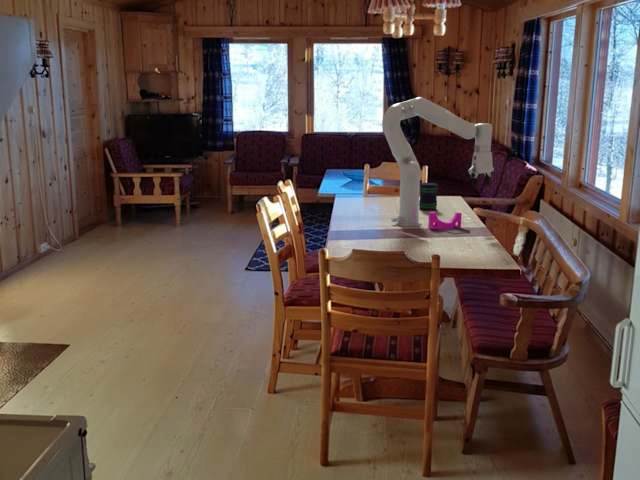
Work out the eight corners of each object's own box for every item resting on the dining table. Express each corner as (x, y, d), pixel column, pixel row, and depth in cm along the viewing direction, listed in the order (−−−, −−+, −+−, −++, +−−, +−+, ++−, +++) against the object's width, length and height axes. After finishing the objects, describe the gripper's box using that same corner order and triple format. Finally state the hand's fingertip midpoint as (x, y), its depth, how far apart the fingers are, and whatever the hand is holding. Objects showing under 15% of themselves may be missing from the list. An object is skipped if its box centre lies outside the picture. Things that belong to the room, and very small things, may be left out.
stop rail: (468, 232, 301) (468, 230, 300) (439, 225, 317) (439, 223, 317) (470, 232, 301) (470, 229, 301) (440, 225, 318) (440, 223, 317)
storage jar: (423, 212, 355) (424, 185, 352) (416, 209, 364) (417, 182, 361) (439, 211, 358) (441, 184, 354) (432, 208, 367) (433, 182, 364)
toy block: (430, 229, 306) (431, 213, 305) (428, 227, 312) (428, 212, 311) (462, 229, 306) (462, 213, 305) (459, 227, 312) (459, 212, 311)
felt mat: (455, 234, 297) (455, 233, 297) (429, 227, 312) (429, 226, 312) (466, 232, 301) (466, 231, 301) (439, 226, 316) (439, 225, 316)
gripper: (475, 150, 302) (473, 187, 306) (501, 149, 311) (498, 185, 315) (463, 149, 308) (461, 186, 312) (489, 148, 317) (487, 183, 321)
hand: (480, 185), depth 313 cm, fingers open, 7 cm apart
